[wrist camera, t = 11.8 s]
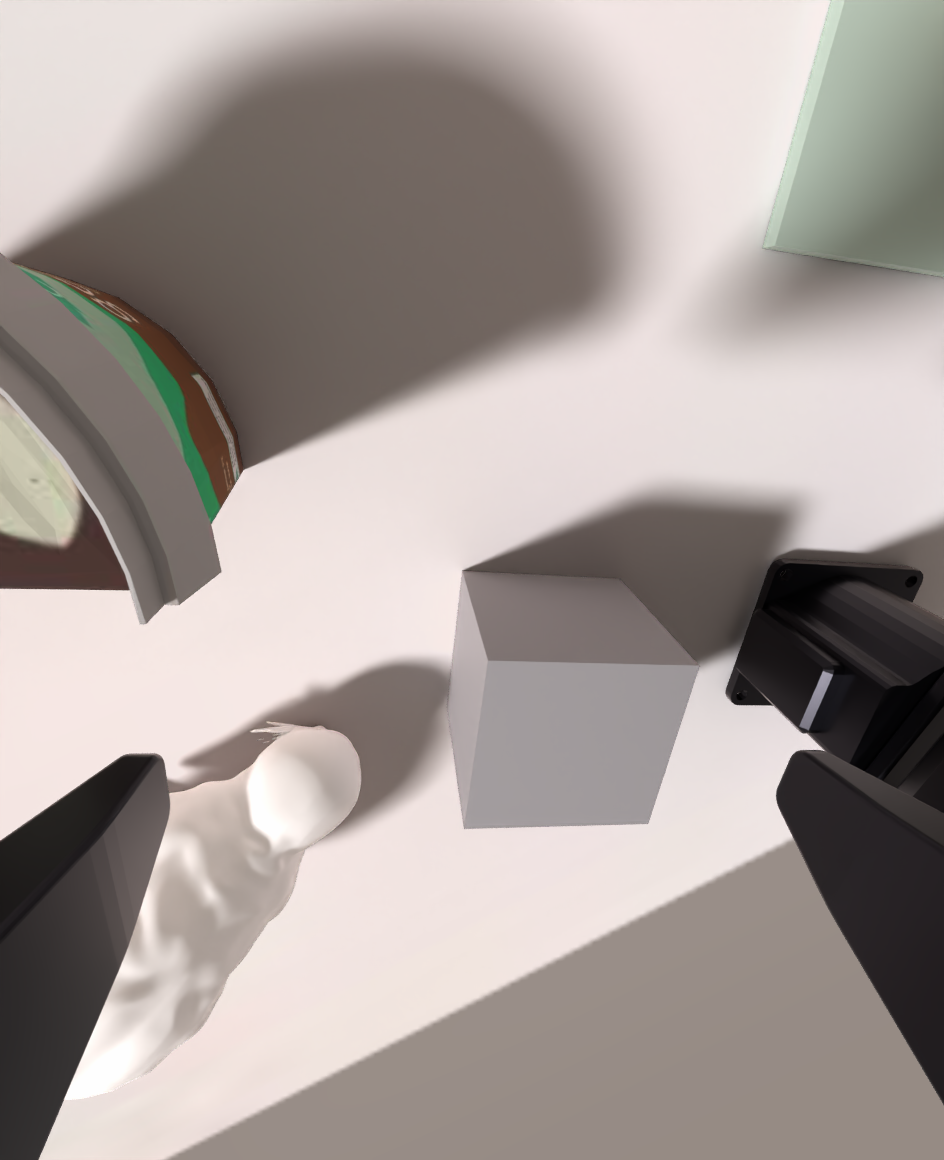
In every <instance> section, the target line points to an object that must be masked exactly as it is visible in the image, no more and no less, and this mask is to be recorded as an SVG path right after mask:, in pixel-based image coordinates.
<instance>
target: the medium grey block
mask: <svg viewBox="0 0 944 1160" xmlns="http://www.w3.org/2000/svg"><path fill="white" fill-rule="evenodd" d="M698 669H699V664H698V663H697V662H696V661H695V660H694V659H693V658H692V657H691V656H690V655H689V654H688V652H687V651H686V650H685V649H684V648H683V647H682V646H681V645H680V644H679V643H678V641H677V640H676V639H675V638H674V637H673V636H672V635H671V634H670V633H669V632H668V631H667V629H666V628H665V627H664V626H663V625H662V624H661V623H660V622H659V621H658V620H657V619H656V617H655V616H654V615H653V614H652V613H651V612H650V611H649V610H648V609H647V608H646V607H645V605H644V604H643V603H642V602H641V601H640V600H639V599H638V598H637V597H636V596H635V595H634V593H633V592H632V591H631V590H630V589H629V588H628V587H627V586H626V585H625V584H624V582H623V581H622V580H621V579H616V578H596V577H577V576H558V575H538V574H519V573H499V572H480V571H462V577H461V586H460V595H459V603H458V612H457V621H456V630H455V639H454V648H453V657H452V666H451V675H450V684H449V693H448V702H447V712H448V719H449V727H450V734H451V741H452V748H453V755H454V762H455V769H456V776H457V783H458V790H459V797H460V804H461V811H462V819H463V826H464V829H474V828H512V827H549V826H586V825H623V824H648V823H649V820H650V817H651V814H652V811H653V807H654V804H655V801H656V798H657V795H658V792H659V789H660V786H661V783H662V780H663V777H664V774H665V771H666V768H667V764H668V761H669V758H670V755H671V752H672V749H673V746H674V743H675V740H676V737H677V734H678V731H679V728H680V725H681V721H682V718H683V715H684V712H685V709H686V706H687V703H688V700H689V697H690V694H691V691H692V688H693V685H694V682H695V678H696V675H697V672H698Z"/></svg>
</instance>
